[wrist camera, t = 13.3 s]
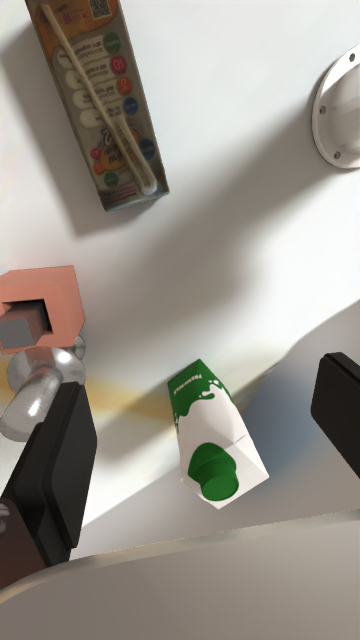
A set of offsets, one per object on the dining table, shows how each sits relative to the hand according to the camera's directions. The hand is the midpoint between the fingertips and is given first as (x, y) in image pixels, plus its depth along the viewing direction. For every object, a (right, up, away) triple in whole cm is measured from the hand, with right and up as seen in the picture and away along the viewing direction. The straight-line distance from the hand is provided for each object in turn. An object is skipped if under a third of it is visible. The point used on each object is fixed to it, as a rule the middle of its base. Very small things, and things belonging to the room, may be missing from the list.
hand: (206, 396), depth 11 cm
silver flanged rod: (-19, -1, +30) cm, 35 cm away
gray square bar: (-19, +6, +27) cm, 34 cm away
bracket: (-19, +5, +27) cm, 34 cm away
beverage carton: (-9, +26, +20) cm, 34 cm away
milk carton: (+2, -8, +36) cm, 37 cm away
